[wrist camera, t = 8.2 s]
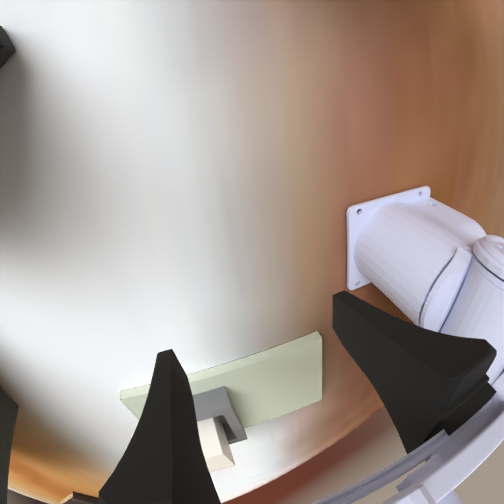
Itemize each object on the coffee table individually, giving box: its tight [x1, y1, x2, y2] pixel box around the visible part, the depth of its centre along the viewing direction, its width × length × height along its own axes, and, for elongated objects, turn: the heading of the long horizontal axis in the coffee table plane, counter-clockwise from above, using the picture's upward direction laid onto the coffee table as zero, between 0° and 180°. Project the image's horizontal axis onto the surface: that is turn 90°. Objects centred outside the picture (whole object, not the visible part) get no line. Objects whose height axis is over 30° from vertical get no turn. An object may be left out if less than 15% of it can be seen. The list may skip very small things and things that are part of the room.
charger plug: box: [197, 416, 235, 473], centre depth 25 cm, size 4×4×6 cm
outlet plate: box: [120, 331, 322, 444], centre depth 27 cm, size 20×12×4 cm, turn 101°
